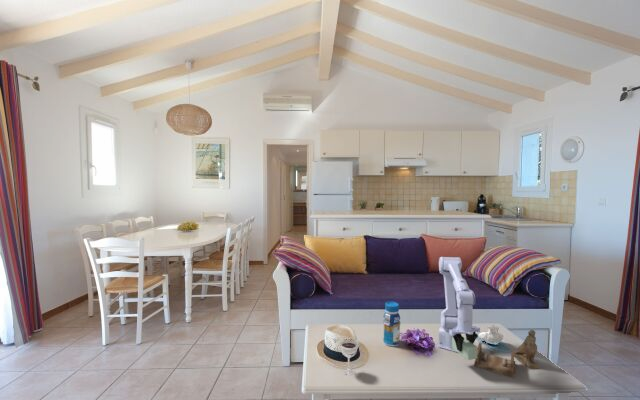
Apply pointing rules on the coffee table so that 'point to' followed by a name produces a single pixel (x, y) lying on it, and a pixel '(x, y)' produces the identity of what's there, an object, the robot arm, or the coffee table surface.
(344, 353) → the wineglass
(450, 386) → the coffee table surface
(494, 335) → the bust
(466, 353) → the pale green rectangular block
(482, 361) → the shelf frame
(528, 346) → the brown carved statuette
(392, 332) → the beverage bottle
